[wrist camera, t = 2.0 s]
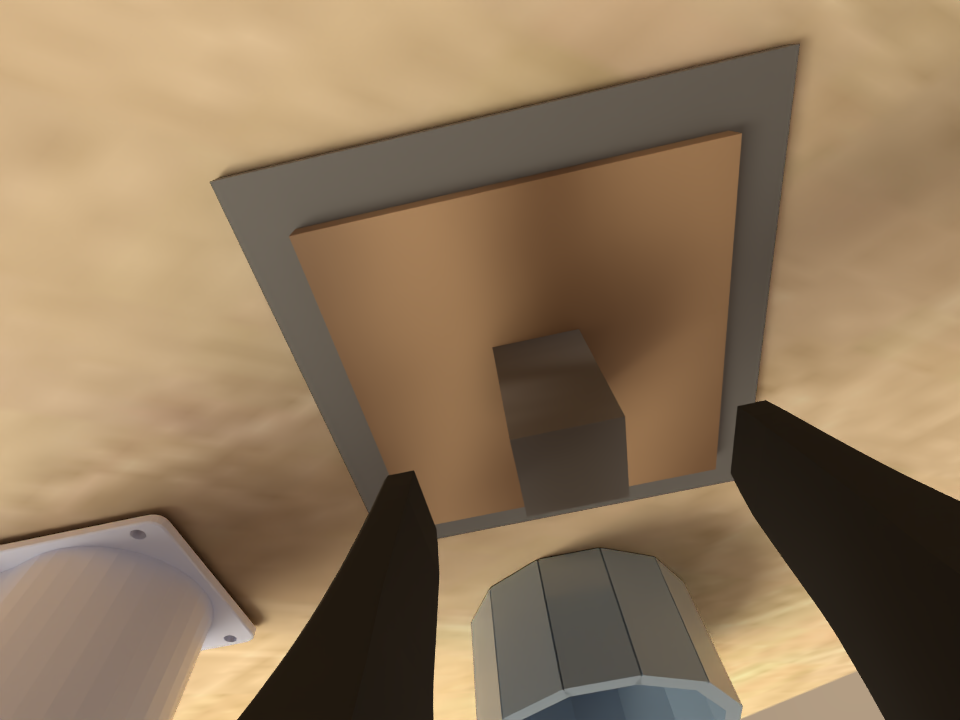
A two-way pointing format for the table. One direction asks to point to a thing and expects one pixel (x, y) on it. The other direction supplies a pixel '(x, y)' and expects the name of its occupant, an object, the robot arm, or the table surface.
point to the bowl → (596, 644)
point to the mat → (511, 155)
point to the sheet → (540, 327)
